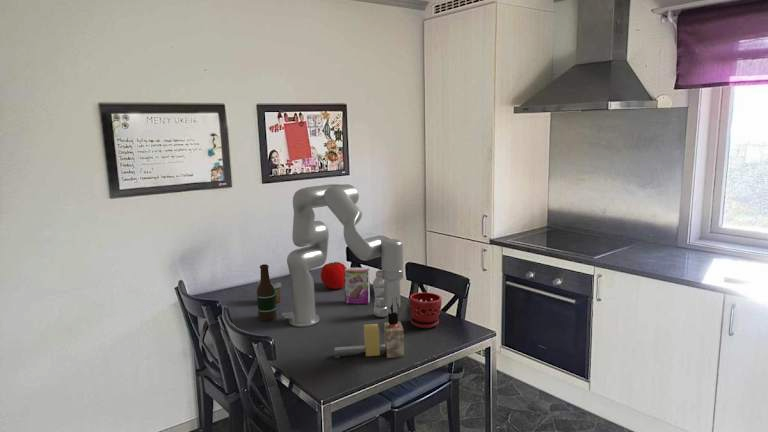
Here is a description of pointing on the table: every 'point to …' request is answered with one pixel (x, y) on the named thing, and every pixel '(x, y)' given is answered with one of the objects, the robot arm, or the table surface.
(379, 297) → the plastic bottle
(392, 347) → the beige mottled box
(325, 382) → the table surface
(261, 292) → the beer bottle
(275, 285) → the food container
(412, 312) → the plant pot
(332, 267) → the tomato
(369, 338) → the yellow block
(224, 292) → the table surface
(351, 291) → the candy bar box
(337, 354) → the rail
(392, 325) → the button
